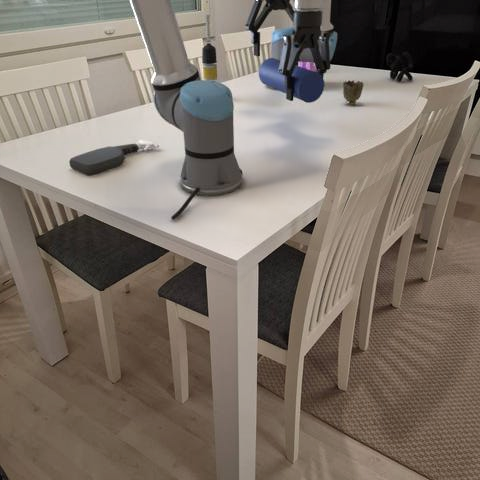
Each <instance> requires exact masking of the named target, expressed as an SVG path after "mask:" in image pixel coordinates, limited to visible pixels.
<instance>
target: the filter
mask: <svg viewBox="0 0 480 480" xmlns="http://www.w3.org/2000/svg"><path fill="white" fill-rule="evenodd" d="M210 17H211V14H204V18H205V27H206V29H205V30H206V31H205V33H206V39H207V40H206V42H207V43H206V45H204V46H202V49H201V50H202V51H201V52H202V54H201V55H202V57H201V58H202V61H201V63H202V71H203V72H202V73H203V74H202V75H203V80H208V81H212V82H216V80H218V64H216V63H218V61H217V48H216V47H215V46H214V45H212V43H210V42H211V40H210V39H211V31H210V29H211V28H210Z"/></svg>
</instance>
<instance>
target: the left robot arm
mask: <svg viewBox="0 0 480 480" xmlns="http://www.w3.org/2000/svg"><path fill="white" fill-rule="evenodd" d="M323 1H324V0H294V2H293V9H295V10H294V11H295V12H294V19H293V22H292V26H293V27H294V30H293V33H292V34H290V35H283V49H282V54H281V59H280V65H279V70H278V73H279V74H282V75H284V76H285V80H284V87H285V88H287V89H286V93H285V100H287V101H289V102H293V101H294V97H293V95H294V77H293V76H292V74H293V71H294V69H295V66H296V64H297V61H298V59H299V56H300V54H301V53H302V52H303V49H306V48H309V49H310V50H311V53H312V56H313V60H314V66H316V69H317V71H316V72H318V73H319V74H321V75H322V77H323V78H324V77H325V76H324V75H325V74H327V71H329V70H330V69H331V60H330V52H329V38H330V33H329V32H324V31H323V32H321V29H320V26H321V25H322V13H323V12H322V11H320V10H321V9H322V8H323ZM129 2H130V5H131V8H132V10H133V13H134V16H135V20H136V22H137V26H138V28H139V30H140V34H141V37H142V39H143V42H144V45H145V48H146V52H147V54H148V57H149V60H150V63H151V66H152V69H153V71H154V72H153V76H152V77H151V79H150V82H151V85H152V88H153V91H154V92H153V104H154V107H155V109H156V111H157V113H158V115H159V117H161V118H162V119H163V120H164V121H165V122H166V123H168V124H170V125H171V126H174V127H175V128H176V129H177V130H180V132H182V133H183V143H184V154H185V155H184V158H183V164H182V168H181V171H180V177H179V183H180V184H179V185H180V188H181V189H182V191H184V192H186V193H187V194H190V195H189V196H188V197H187V198H186V200H185V201H184V203H183V204H182V206H181V207H180V208H179V209H178V210H177V211H176V212H174V214H173V215H171V218H170V219H171V220H173V221H175V220H176V219H177V218H179V216H180V215H181V214H182V213H183V212H184V211H185V210H186V209H187V207H188V205H189V204H190V203H191V202H192V201H193V199H194V198H195V197H196V196H199V197H221V196H224V195H229V194H232V193H234V192H235V191H237V190H239V189H240V188H241V187H242V185H243V176H244V175H243V174H244V173H243V170H242V169H241V168H240V165H239V163H238V160H237V157H236V154H235V132H234V131H235V130H234V127H235V126H234V109H235V105H234V100H233V98H234V97H233V93H232V91H231V89H230V88H229V87H228V86H227V85H226V84H223V83H222V82H219V81H215V82H212V81H213V80H212V81H208V80H204V79H203V80H202V79H201V76H200V72H199V69H198V66H197V65H195V64H193V62H190V61H189V57H188V53H187V50H186V48H185V47H186V46H185V43H184V40H183V36H182V33H181V30H180V26H179V23H178V19H177V16H176V12H175V9H174V5H173V2H172V0H129ZM319 38H320V45H321V54H320V51H319V44H318V39H319ZM293 39H294V41H295V43H294V46H293V51H292V54H291V56H290V52H291V46H292V43H293ZM298 47H299V48H298ZM289 57H290V59H289Z"/></svg>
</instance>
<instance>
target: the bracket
mask: <svg viewBox="0 0 480 480" xmlns="http://www.w3.org/2000/svg"><path fill="white" fill-rule="evenodd" d="M299 67H302V68H305V69H308V70H311V71H315V72H318V71H317V69H316V66H315V63H314V62H299Z"/></svg>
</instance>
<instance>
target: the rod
mask: <svg viewBox="0 0 480 480" xmlns="http://www.w3.org/2000/svg"><path fill="white" fill-rule="evenodd" d="M279 65H280V60H278V59H274V58H271V57H269V58H267V59H265V60H264V61H262V63H261V64H260V66H259V69H258V77H259V80H260V82H261V83H262V85H265V86H266V85H267V86H270V87H272V88H274V89H273V90H275V89H277V90H276V91H279V92H282V93H283V94H286V89H287V88H285V87H284V80H285V76H284V75H282V74H279V73H278V70H279ZM292 76H293V77H294V95H293V98H296V99H298V100H300V101H302V102H305V103H308V104H312V103H314V102H316V101H317V100H319V99H320V97H321V96H322V95H323V92H324V89H325V80H324V76H323V77H322V75H321V74H319V73H318V71H316V72H315V71H311V70H308V69H305V68H302V67H300V65H298V66H295V69H294V71H293V74H292ZM267 86H266V87H267Z"/></svg>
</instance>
